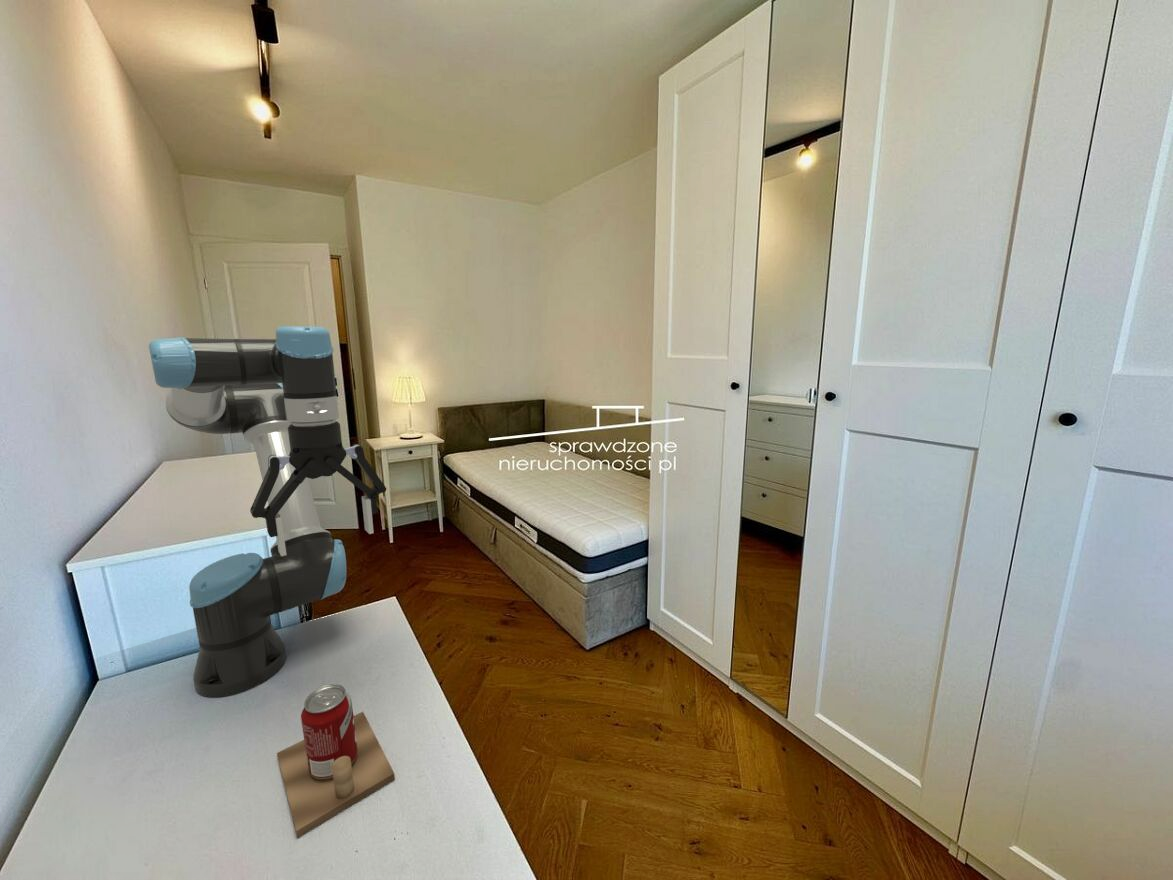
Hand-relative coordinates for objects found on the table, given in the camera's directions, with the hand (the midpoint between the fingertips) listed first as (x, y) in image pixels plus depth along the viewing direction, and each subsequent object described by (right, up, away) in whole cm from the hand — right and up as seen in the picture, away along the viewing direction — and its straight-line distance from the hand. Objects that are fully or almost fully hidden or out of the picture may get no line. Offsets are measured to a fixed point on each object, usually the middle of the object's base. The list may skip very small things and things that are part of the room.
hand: (328, 541), depth 80 cm
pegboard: (+6, -34, -8) cm, 35 cm away
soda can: (+6, -33, -8) cm, 35 cm away
